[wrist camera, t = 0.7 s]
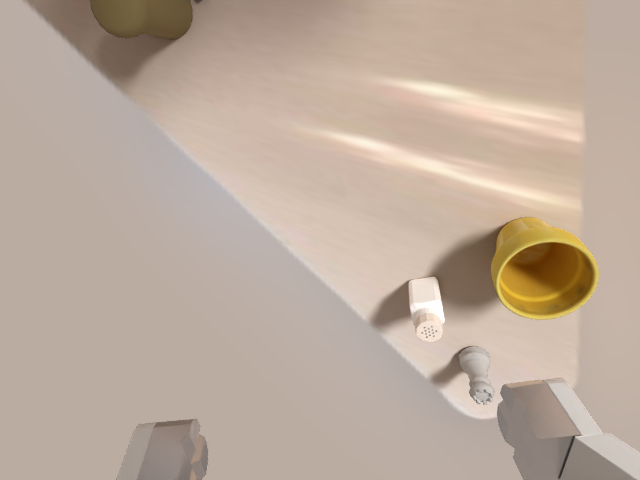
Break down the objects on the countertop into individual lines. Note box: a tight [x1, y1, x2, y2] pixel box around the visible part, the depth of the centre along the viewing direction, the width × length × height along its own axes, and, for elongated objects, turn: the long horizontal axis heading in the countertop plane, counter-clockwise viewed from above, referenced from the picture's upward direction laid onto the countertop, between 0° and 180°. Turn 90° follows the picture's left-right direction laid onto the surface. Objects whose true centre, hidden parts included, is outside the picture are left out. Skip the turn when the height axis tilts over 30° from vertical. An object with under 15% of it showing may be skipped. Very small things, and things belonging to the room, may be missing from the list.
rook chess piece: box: [458, 346, 495, 404], centre depth 60 cm, size 4×4×8 cm
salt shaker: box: [408, 277, 445, 342], centre depth 55 cm, size 4×4×10 cm
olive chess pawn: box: [91, 0, 192, 39], centre depth 43 cm, size 6×6×11 cm
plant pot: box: [491, 217, 599, 320], centre depth 50 cm, size 10×10×10 cm
